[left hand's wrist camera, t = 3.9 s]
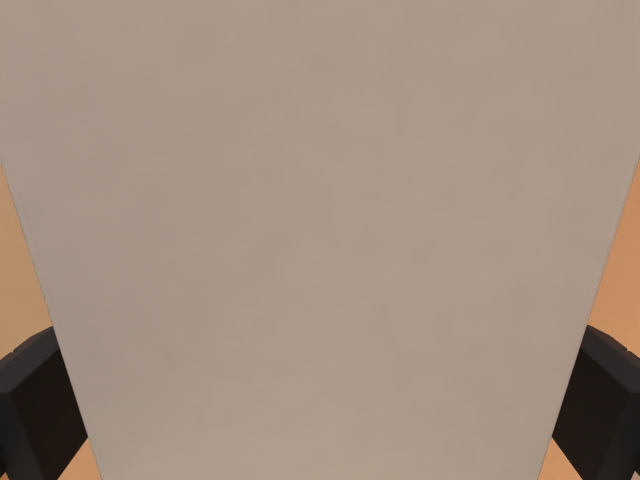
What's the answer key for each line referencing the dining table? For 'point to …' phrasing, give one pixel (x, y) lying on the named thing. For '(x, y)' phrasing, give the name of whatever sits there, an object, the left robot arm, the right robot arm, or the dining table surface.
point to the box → (319, 224)
